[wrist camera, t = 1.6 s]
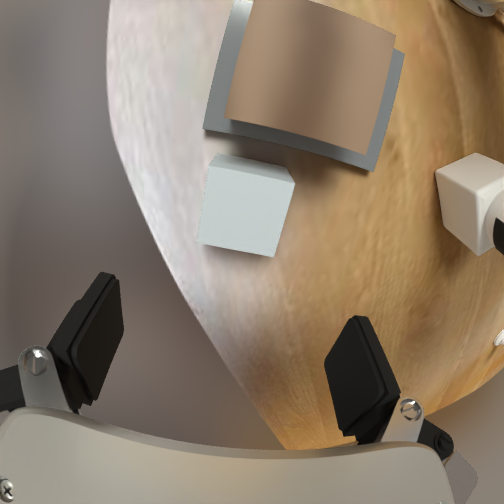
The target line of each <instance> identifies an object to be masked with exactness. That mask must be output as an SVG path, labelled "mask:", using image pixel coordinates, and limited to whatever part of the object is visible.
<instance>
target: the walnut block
mask: <svg viewBox="0 0 504 504" xmlns="http://www.w3.org/2000/svg"><path fill="white" fill-rule="evenodd" d="M395 37H396V35H394V34H392V33H390V32H388V31H386V30H384V29H382V28H380V27H378V26H376V25H374V24H371V23H369V22H367V21H365V20H362V19H360V18H357V17H355V16H353V15H350V14H347V13H345V12H342V11H339V10H337V9H334V8H331V7H328V6H325V5H322V4H319V3H315V2H312V1H309V0H254V1H253V5H252V8H251V11H250V15H249V18H248V22H247V25H246V29H245V33H244V36H243V40H242V44H241V47H240V51H239V55H238V59H237V63H236V67H235V71H234V75H233V79H232V83H231V88H230V92H229V96H228V101H227V105H226V109H225V114H224V118H228V119H233V120H239V121H244V122H249V123H254V124H258V125H263V126H267V127H272V128H276V129H280V130H284V131H288V132H292V133H296V134H299V135H303V136H307V137H310V138H314V139H317V140H321V141H324V142H327V143H330V144H334V145H337V146H340V147H343V148H346V149H349V150H352V151H355V152H358V153H360V154H363V155H366V153H367V149H368V146H369V143H370V139H371V136H372V133H373V129H374V126H375V122H376V118H377V115H378V111H379V107H380V103H381V100H382V96H383V92H384V88H385V84H386V79H387V75H388V71H389V66H390V62H391V57H392V52H393V47H394V42H395Z"/></svg>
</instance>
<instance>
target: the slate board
mask: <svg viewBox="0 0 504 504" xmlns="http://www.w3.org/2000/svg"><path fill="white" fill-rule="evenodd" d="M252 5H253V2H251V1H245V0H234V3H233V7H232V10H231V13H230V17H229V20H228V23H227V27H226V31H225V34H224V38H223V41H222V45H221V49H220V53H219V57H218V61H217V65H216V69H215V73H214V77H213V82H212V86H211V90H210V95H209V99H208V104H207V109H206V114H205V119H204V124H203V129H206V130H212V131H218V132H224V133H230V134H235V135H240V136H245V137H250V138H255V139H259V140H264V141H268V142H273V143H277V144H281V145H285V146H289V147H293V148H297V149H301V150H304V151H308V152H312V153H315V154H319V155H322V156H326V157H329V158H332V159H335V160H339V161H342V162H345V163H348V164H351V165H354V166H357V167H360V168H363V169H366V170H369V171H372V172H373V171H374V168H375V165H376V162H377V159H378V156H379V152H380V149H381V146H382V143H383V139H384V136H385V133H386V129H387V126H388V122H389V118H390V115H391V111H392V107H393V103H394V99H395V95H396V91H397V87H398V83H399V78H400V74H401V69H402V65H403V60H404V55H405V54H404V53H402V52H400V51H398V50H396V49H394V48H393V52H392V57H391V62H390V66H389V71H388V75H387V79H386V84H385V88H384V92H383V96H382V100H381V103H380V107H379V111H378V115H377V118H376V122H375V126H374V129H373V133H372V136H371V139H370V143H369V146H368V149H367V153H366V155H363V154H360V153H358V152H355V151H352V150H349V149H346V148H343V147H340V146H337V145H334V144H330V143H327V142H324V141H321V140H317V139H314V138H310V137H307V136H303V135H299V134H296V133H292V132H288V131H284V130H280V129H276V128H272V127H267V126H263V125H258V124H254V123H249V122H244V121H239V120H233V119H228V118H224V114H225V109H226V105H227V101H228V96H229V92H230V88H231V83H232V79H233V75H234V71H235V67H236V63H237V59H238V55H239V51H240V47H241V44H242V40H243V36H244V33H245V29H246V25H247V22H248V18H249V15H250V11H251V8H252Z"/></svg>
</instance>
